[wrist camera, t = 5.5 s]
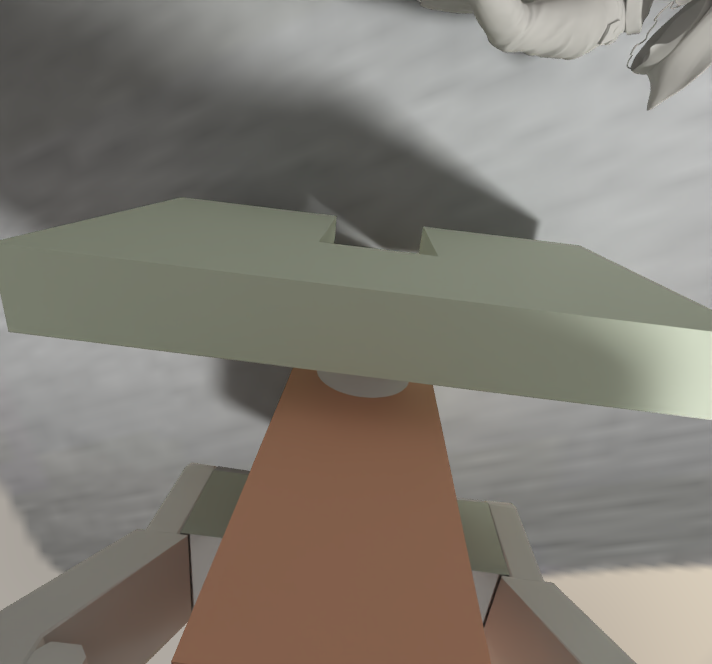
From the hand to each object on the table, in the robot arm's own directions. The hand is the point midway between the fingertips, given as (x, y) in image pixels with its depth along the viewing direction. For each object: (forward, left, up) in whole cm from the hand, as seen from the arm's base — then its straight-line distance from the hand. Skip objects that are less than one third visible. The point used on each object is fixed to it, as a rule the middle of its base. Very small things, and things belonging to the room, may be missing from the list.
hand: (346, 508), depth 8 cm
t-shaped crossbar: (-1, 0, -7) cm, 7 cm away
